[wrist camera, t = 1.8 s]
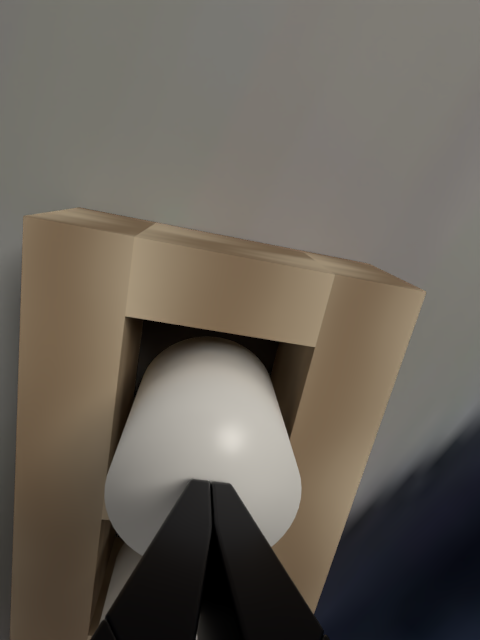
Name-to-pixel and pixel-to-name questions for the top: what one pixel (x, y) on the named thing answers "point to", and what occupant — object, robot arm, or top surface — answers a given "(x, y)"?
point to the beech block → (120, 377)
